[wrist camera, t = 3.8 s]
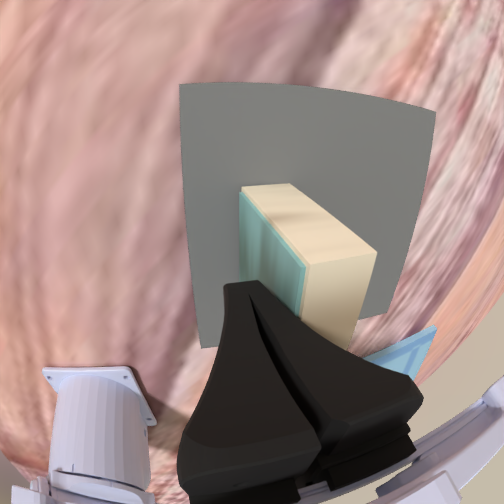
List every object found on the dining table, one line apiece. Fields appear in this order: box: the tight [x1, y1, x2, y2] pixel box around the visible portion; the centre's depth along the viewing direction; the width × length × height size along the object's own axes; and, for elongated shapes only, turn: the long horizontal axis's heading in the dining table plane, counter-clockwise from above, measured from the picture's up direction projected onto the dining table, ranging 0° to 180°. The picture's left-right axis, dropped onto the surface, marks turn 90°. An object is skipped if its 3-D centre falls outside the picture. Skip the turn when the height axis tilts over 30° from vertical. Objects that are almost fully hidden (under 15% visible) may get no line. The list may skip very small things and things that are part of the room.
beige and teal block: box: [239, 183, 377, 351], centre depth 13 cm, size 6×3×7 cm, turn 179°
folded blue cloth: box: [362, 325, 437, 380], centre depth 30 cm, size 14×12×1 cm
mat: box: [180, 82, 436, 349], centre depth 17 cm, size 16×15×1 cm
